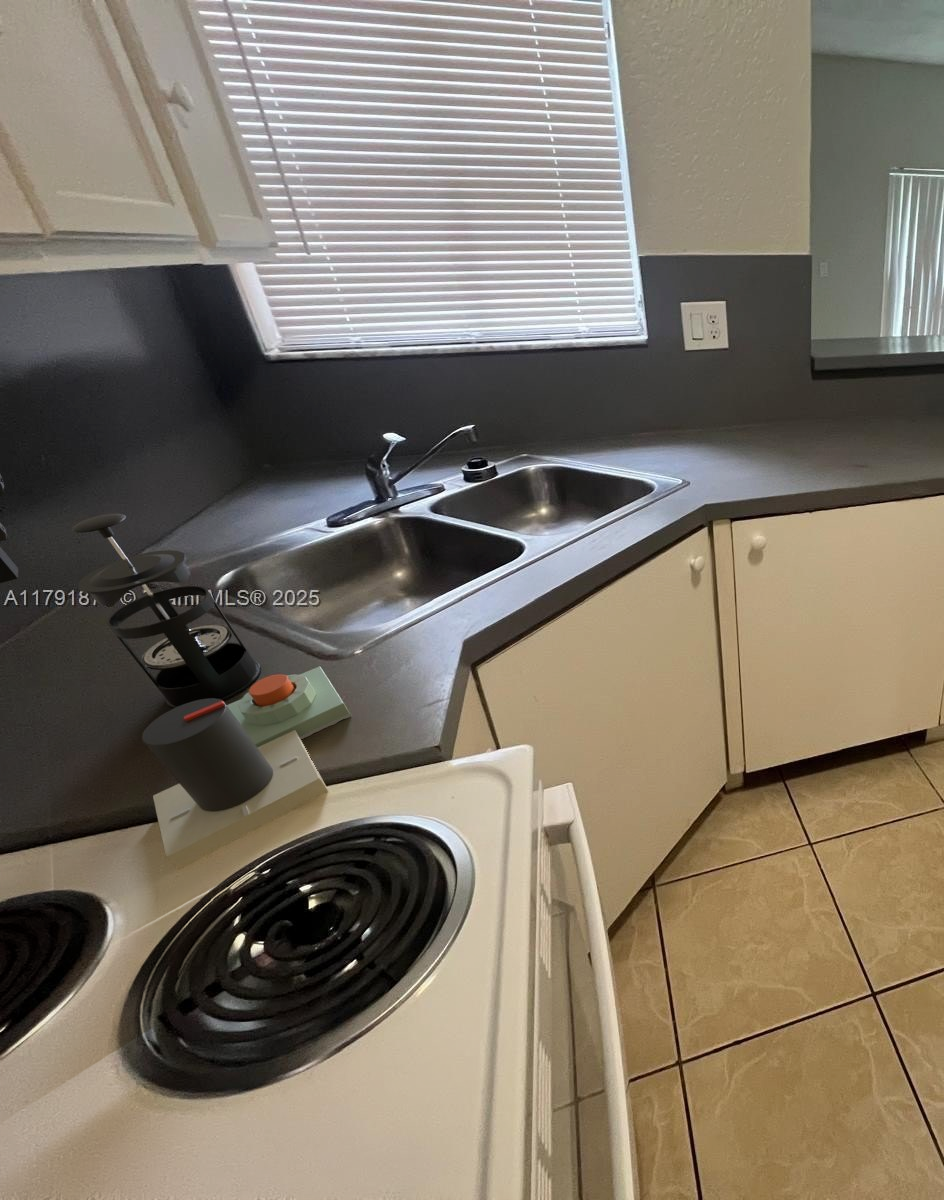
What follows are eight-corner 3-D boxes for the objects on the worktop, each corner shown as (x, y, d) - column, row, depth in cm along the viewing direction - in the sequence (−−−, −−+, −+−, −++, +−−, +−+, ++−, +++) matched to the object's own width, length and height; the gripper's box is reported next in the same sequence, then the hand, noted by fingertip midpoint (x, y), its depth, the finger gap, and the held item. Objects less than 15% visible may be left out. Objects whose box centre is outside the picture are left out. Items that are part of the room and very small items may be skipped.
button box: (230, 721, 73) (211, 695, 71) (327, 679, 79) (313, 654, 77) (248, 766, 67) (228, 739, 65) (351, 716, 73) (336, 691, 71)
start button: (253, 696, 71) (245, 685, 70) (290, 681, 73) (283, 669, 72) (260, 711, 69) (252, 699, 68) (298, 695, 71) (291, 683, 70)
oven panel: (164, 808, 63) (151, 793, 62) (303, 742, 70) (293, 728, 69) (178, 871, 57) (164, 856, 56) (329, 791, 64) (319, 777, 63)
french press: (272, 683, 78) (164, 517, 66) (177, 725, 73) (38, 552, 60) (247, 647, 85) (144, 490, 72) (158, 683, 79) (28, 519, 66)
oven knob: (203, 822, 59) (143, 753, 53) (193, 788, 62) (136, 720, 57) (279, 784, 62) (229, 716, 57) (265, 754, 66) (217, 687, 61)
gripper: (-88, 281, 51) (99, 538, 64) (-378, 302, 43) (-98, 590, 56) (-98, 288, 46) (105, 563, 59) (-423, 313, 39) (-108, 623, 52)
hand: (6, 576), depth 58 cm, fingers closed
